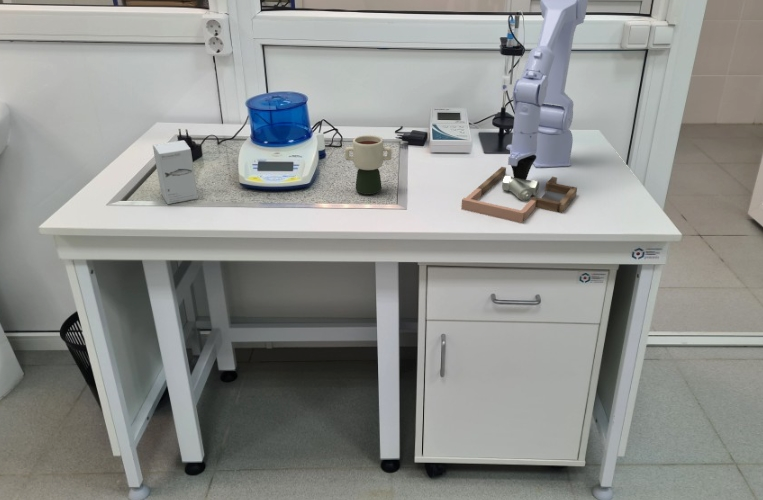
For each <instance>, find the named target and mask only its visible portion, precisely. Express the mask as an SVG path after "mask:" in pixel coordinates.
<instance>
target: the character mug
mask: <svg viewBox="0 0 763 500" xmlns="http://www.w3.org/2000/svg"><path fill="white" fill-rule="evenodd" d="M350 152H352V156H350ZM384 152H386V156H384ZM344 158H345V160H346V161H353V164H354V167H355V168H357V171H356V179H355V190H356V191H357V192H358V193H360V194H364V195H373V194H376V193H379V192H380V191H381V190H382V188H383V187H382V179H381V172H380V170H379V169H380V168H381V167H382V166H383V163H384V161H390V160H392V147H390V146H384V139H383V137H380V136H377V135H371V134H366V135H365V134H364V135H359V136H356V137H354V138H353V139H352V146H346V147H344Z"/></svg>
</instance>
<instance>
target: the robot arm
mask: <svg viewBox="0 0 763 500" xmlns="http://www.w3.org/2000/svg"><path fill="white" fill-rule="evenodd" d="M588 2H589V0H540V1H539V5H540V7H539V8H540V10H541V13H540V14H541V17H542V18H543V21H542V25H541V29H540V33H539V38H538V41H537V46H536V47H534V48H532V49H531V50H530V51H529V54H528V57H527V60H526V63H525V65H524V69H523V72H522V74H521V77H520V78H518V79H517V80H516V81H515V83H514V86H513V90H512V101H513V106H512V107H513V108H512V109H513V111H514V118H513V119H514V120H513V128H512V139H511V144H507V145H506V150H508V151H509V156H508V161H507V165H508V166H510V167H511V170H512V176H513V178H519V179H525V180H528V179H527V178H528V176H529V174H530V173H529V172H530V170H531V168H532V166H534V167H535V168H549V167H550V168H553V167H570V166H571V163H570V161H571V157H572V156H571V155H572V149H573V141H574V140H573V139H574V138H573V133H572V131H571V130H570V128H571V126H572V122H573V119H574V101H573V99H571V97H570V96H569V95H568V94H566V92H565V90H566V83H567V78H568V73H569V66H570V60H571V53H572V48H573V42H574V35H575V33H576V32H575V31H576V28H577V26H578V25H582V24H583V23H584V21H585V18H586V13H587V10H588V9H587V8H588Z"/></svg>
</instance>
